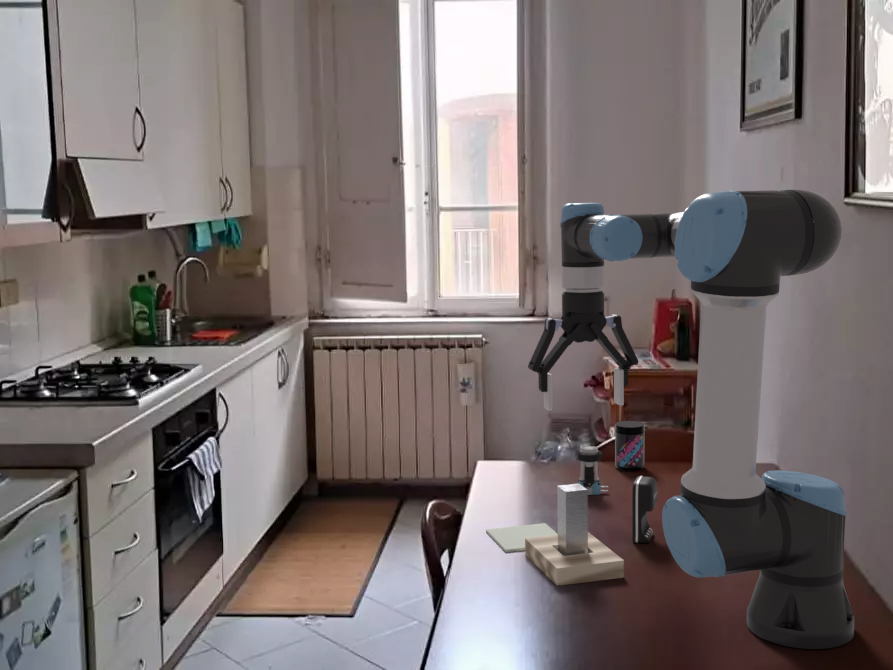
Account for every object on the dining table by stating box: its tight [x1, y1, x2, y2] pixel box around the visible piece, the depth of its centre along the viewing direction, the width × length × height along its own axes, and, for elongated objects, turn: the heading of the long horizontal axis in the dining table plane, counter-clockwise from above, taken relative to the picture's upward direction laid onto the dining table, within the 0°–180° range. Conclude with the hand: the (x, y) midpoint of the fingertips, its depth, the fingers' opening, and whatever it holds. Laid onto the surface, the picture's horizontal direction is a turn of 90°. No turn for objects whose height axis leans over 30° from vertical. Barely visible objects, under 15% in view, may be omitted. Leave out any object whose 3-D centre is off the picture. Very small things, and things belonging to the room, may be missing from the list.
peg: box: [556, 483, 589, 556], centre depth 186 cm, size 4×4×14 cm
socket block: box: [524, 531, 625, 586], centre depth 187 cm, size 16×12×3 cm
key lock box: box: [631, 475, 658, 544], centre depth 200 cm, size 7×4×11 cm, turn 161°
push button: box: [576, 445, 609, 496], centre depth 229 cm, size 7×5×10 cm
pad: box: [485, 522, 558, 553], centre depth 202 cm, size 12×12×1 cm
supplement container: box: [614, 420, 646, 472], centre depth 248 cm, size 7×7×10 cm
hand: (583, 406), depth 195 cm, fingers open, 13 cm apart
